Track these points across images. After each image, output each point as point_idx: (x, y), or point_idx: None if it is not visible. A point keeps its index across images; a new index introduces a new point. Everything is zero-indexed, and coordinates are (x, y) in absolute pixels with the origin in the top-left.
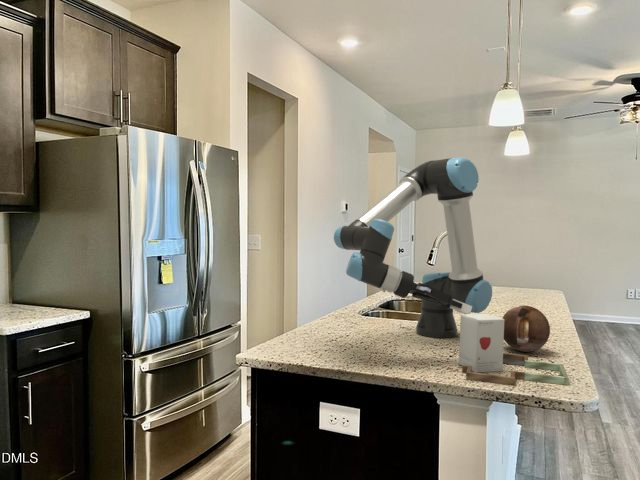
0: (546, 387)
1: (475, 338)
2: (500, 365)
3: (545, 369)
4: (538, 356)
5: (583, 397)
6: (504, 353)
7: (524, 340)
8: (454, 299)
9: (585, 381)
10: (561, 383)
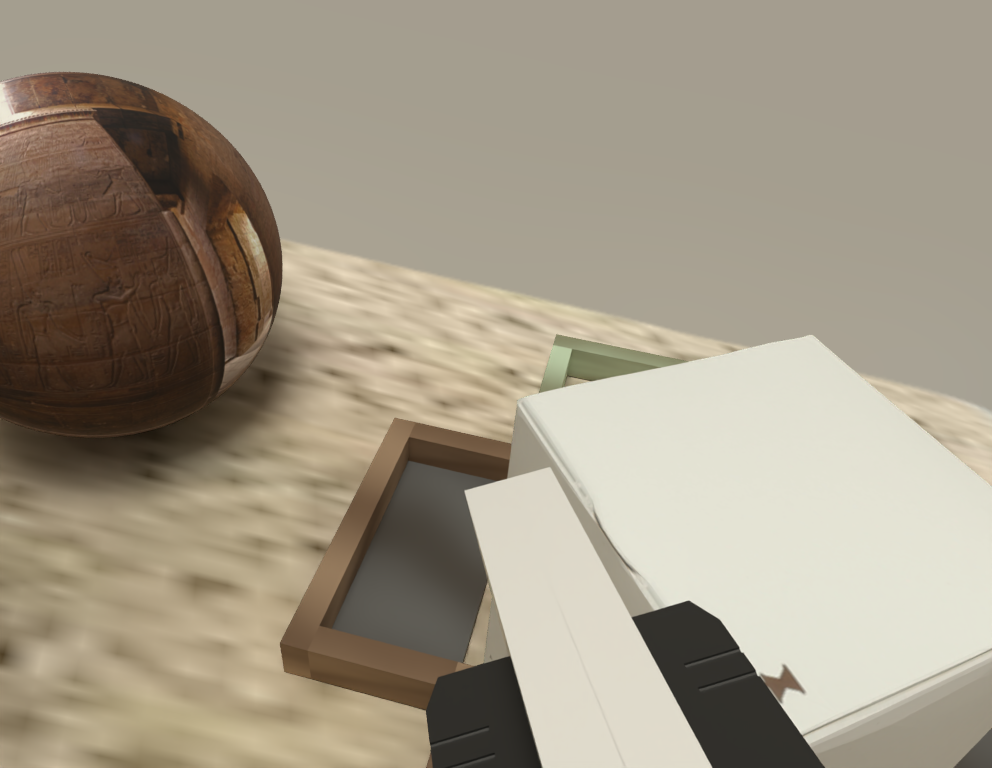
0: None
1: (972, 745)
2: None
3: None
4: (270, 367)
5: (970, 422)
6: (351, 526)
7: (258, 344)
8: (688, 724)
9: (706, 344)
10: None
